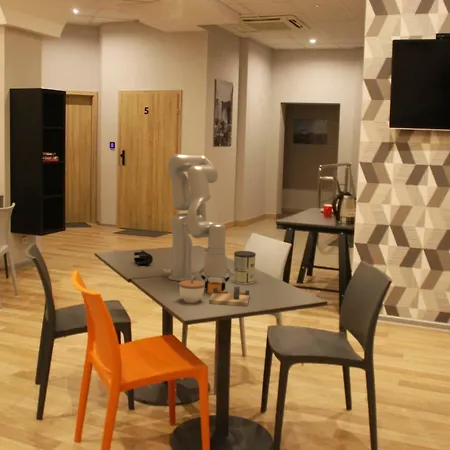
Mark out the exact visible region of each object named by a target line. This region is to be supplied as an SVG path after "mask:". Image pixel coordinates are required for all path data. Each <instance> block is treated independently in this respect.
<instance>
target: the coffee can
mask: <svg viewBox="0 0 450 450" xmlns="http://www.w3.org/2000/svg"><path fill="white" fill-rule="evenodd" d="M233 254H234V255H233V258H234V259H233V260H234V261H233V283H234V284H235V283H236V284H239V285H251V284H254V283H255V273H256V272H255V271H256V252H253V251H249V250H238V251H237V250H236V251H234V253H233Z"/></svg>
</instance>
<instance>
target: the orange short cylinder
mask: <svg viewBox="0 0 450 450" xmlns="http://www.w3.org/2000/svg"><path fill="white" fill-rule="evenodd" d="M214 288H218V289H217V291H222V282H220V281H209V282H208V290H207V291H206V292H207V294H211V295H212V294H213V289H214Z"/></svg>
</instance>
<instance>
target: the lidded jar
mask: <svg viewBox="0 0 450 450" xmlns="http://www.w3.org/2000/svg"><path fill="white" fill-rule="evenodd" d="M178 286H179V289H178V290H179V294H180V297H181V298H182V300H183V301H184V302H185V303H187V304H195V303H199V302H200V300H201V299H202V298H203V296H204V293H205V282H204V281H200V280H195V279H194V280H193V279H191V280H186V281H179V283H178Z"/></svg>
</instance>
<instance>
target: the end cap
mask: <svg viewBox="0 0 450 450" xmlns="http://www.w3.org/2000/svg"><path fill="white" fill-rule="evenodd" d="M133 254H134V256H138V257H134V258H133V263H136V264H137V265H136V264H135V265H136V266H138V265H139V266H145V267H149V266H151V264H153V261H154V257H153V256H152V254H150V253H149V252H146V251H145V250H142V249H141V250H140V251H135V252H133ZM139 266H138V267H139Z"/></svg>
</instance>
